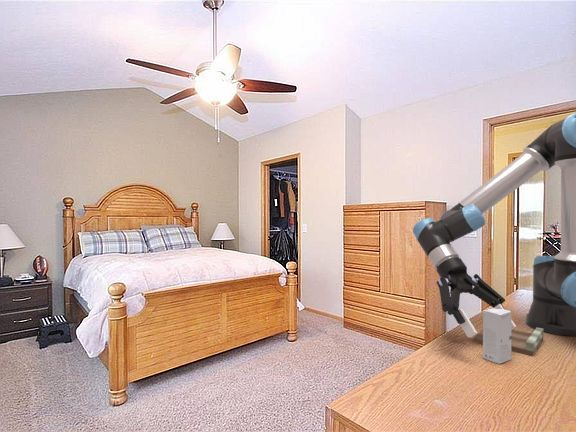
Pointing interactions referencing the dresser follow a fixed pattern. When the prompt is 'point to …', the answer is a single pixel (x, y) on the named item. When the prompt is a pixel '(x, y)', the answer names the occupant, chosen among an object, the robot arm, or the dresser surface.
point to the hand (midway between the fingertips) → (492, 332)
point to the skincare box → (497, 335)
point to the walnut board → (521, 341)
